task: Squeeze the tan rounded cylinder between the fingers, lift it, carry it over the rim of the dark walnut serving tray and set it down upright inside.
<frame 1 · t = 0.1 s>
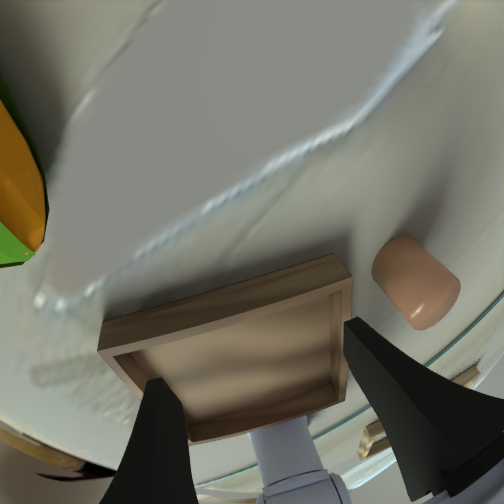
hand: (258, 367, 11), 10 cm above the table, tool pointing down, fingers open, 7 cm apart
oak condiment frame: (416, 413, 51), on the table
tan rounded cylinder: (395, 261, 24), on the table
walnut tray: (242, 363, 26), on the table
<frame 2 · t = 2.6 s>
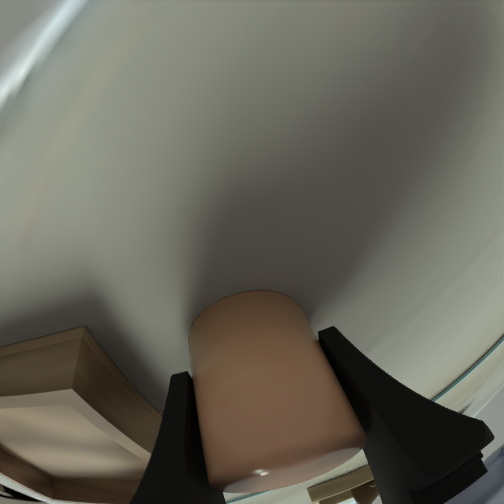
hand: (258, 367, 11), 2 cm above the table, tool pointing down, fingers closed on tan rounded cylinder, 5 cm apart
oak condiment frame: (382, 466, 39), on the table
tan rounded cylinder: (248, 337, 12), on the table, touching gripper
kendama: (382, 467, 39), resting in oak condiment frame
walnut tray: (58, 438, 15), on the table
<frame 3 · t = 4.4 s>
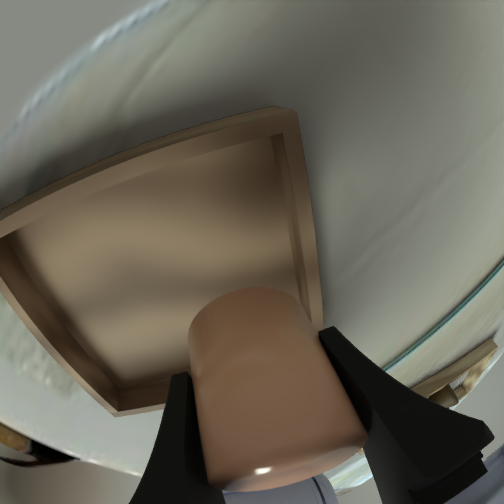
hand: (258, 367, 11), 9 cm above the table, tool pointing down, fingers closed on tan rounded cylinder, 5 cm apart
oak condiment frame: (424, 397, 43), on the table
tan rounded cylinder: (248, 334, 12), point 7 cm above the table, touching gripper
kendama: (424, 397, 43), resting in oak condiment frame
walnut tray: (166, 289, 19), on the table
when the fingers open (3 cm above the table, at t = 6.7 s): tan rounded cylinder drops 1 cm, resting on walnut tray.
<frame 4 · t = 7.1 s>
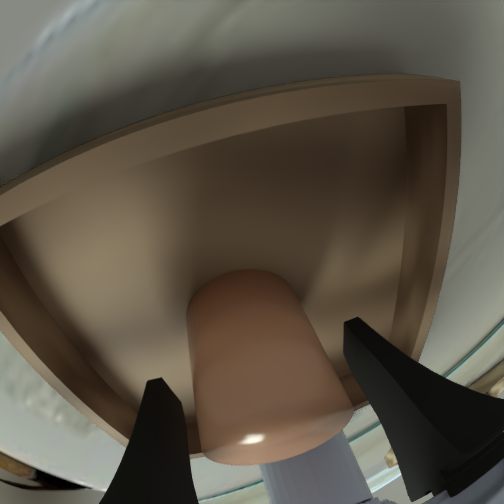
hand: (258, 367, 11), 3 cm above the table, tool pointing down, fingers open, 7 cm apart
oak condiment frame: (456, 407, 38), on the table
tan rounded cylinder: (242, 316, 13), point 1 cm above the table, touching walnut tray
walnut tray: (240, 309, 14), on the table
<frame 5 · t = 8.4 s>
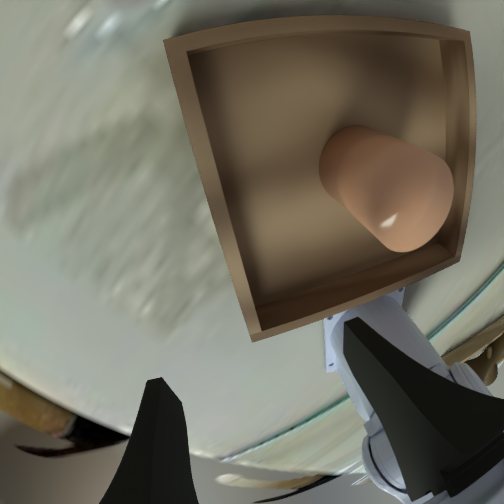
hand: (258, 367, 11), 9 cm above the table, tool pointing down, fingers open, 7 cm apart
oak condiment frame: (479, 352, 42), on the table
tan rounded cylinder: (355, 164, 17), point 1 cm above the table, touching walnut tray
kendama: (479, 352, 42), resting in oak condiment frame
walnut tray: (350, 164, 18), on the table
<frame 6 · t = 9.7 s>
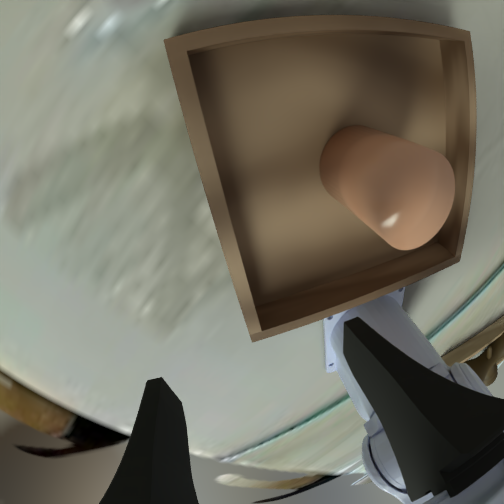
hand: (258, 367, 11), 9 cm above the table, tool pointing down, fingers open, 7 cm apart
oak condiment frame: (479, 352, 42), on the table
tan rounded cylinder: (356, 164, 17), point 1 cm above the table, touching walnut tray
kendama: (479, 352, 42), resting in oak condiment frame
walnut tray: (350, 164, 18), on the table
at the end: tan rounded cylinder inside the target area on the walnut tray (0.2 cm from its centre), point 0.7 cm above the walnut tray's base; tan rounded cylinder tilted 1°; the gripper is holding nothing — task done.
